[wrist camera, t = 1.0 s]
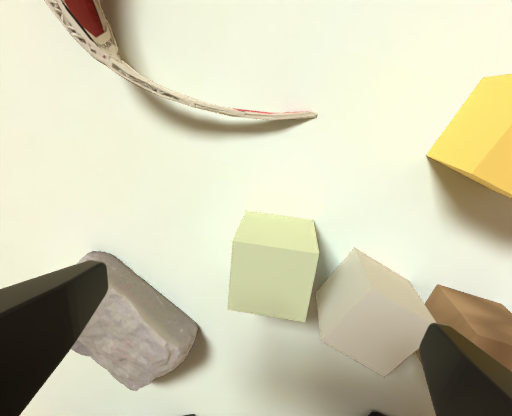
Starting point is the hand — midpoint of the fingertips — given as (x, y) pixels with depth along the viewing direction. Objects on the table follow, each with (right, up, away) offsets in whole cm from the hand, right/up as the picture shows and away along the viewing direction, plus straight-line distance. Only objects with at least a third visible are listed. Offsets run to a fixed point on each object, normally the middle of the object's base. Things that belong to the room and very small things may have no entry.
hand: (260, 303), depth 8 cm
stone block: (-12, -7, +19) cm, 23 cm away
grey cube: (+8, -4, +14) cm, 17 cm away
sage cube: (+1, 0, +14) cm, 14 cm away
